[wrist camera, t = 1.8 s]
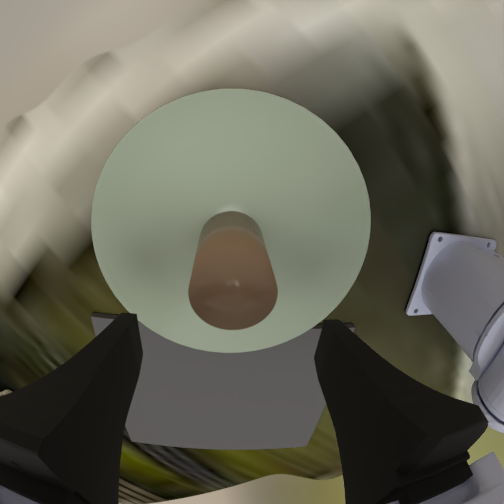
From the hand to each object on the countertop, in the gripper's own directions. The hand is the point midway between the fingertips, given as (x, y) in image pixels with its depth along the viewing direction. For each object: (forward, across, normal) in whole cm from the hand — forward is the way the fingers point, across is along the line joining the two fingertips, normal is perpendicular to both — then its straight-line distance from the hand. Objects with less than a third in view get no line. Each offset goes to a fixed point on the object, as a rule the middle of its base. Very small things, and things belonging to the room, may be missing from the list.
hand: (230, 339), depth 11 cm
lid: (+6, 0, -2) cm, 6 cm away
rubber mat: (+10, 0, +17) cm, 20 cm away
